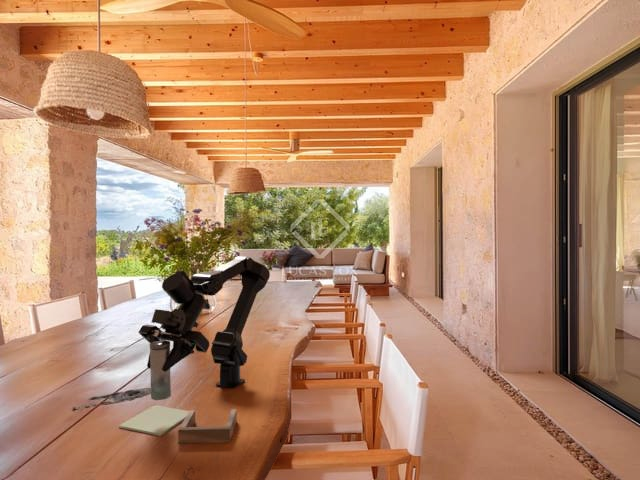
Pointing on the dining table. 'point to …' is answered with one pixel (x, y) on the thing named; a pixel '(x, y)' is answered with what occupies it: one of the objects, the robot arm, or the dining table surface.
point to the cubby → (206, 430)
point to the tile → (155, 420)
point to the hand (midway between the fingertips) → (156, 369)
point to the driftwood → (121, 396)
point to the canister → (159, 370)
